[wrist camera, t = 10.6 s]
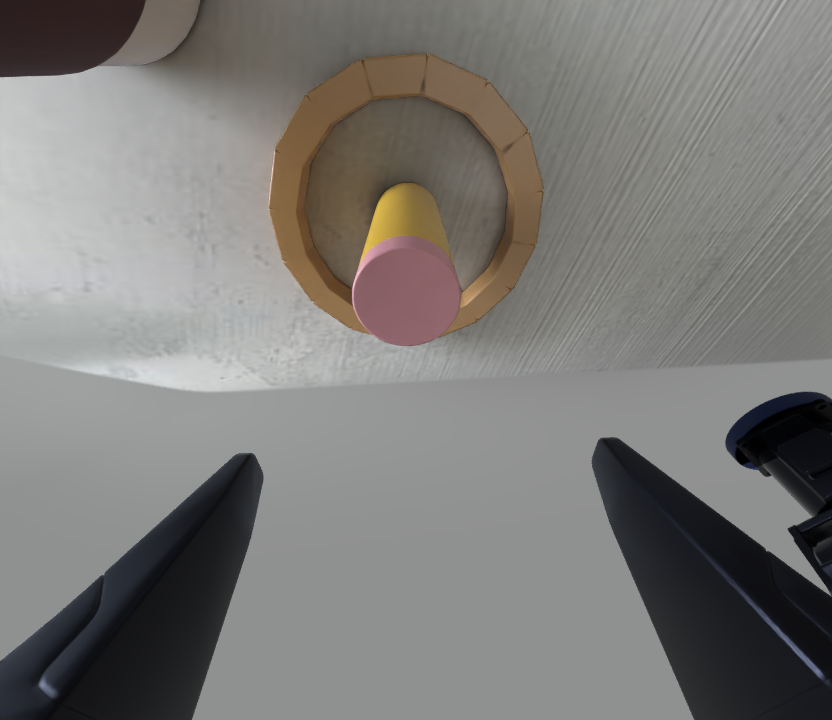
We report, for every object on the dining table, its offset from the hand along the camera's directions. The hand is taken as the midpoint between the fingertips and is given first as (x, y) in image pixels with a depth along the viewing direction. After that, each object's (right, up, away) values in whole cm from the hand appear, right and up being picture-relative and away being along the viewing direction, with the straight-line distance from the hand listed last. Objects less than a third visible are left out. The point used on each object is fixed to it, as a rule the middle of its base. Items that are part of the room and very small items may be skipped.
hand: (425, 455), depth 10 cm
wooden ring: (-1, +9, +8) cm, 12 cm away
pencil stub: (-1, +9, +8) cm, 12 cm away
